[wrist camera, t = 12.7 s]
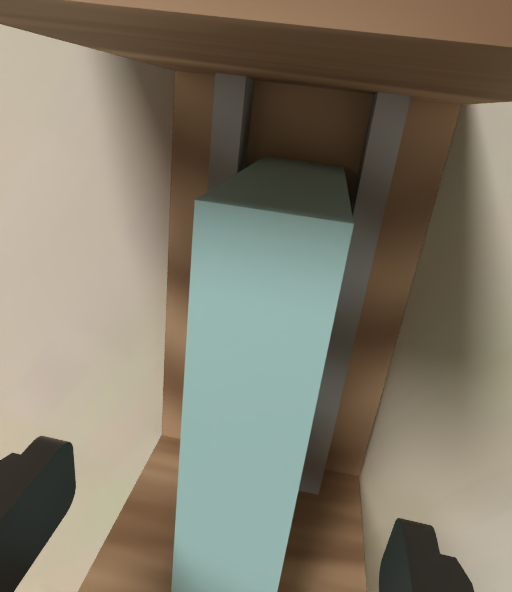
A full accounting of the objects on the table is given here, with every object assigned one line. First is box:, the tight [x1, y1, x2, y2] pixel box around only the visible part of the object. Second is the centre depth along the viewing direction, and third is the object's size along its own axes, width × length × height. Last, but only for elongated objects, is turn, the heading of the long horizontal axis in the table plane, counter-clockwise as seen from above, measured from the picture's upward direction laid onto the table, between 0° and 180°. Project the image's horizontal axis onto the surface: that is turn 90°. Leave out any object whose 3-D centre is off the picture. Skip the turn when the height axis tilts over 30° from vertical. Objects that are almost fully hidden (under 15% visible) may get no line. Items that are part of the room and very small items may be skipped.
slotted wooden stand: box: [0, 0, 512, 592], centre depth 16 cm, size 24×12×16 cm, turn 173°
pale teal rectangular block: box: [171, 156, 354, 592], centre depth 17 cm, size 14×4×11 cm, turn 173°
